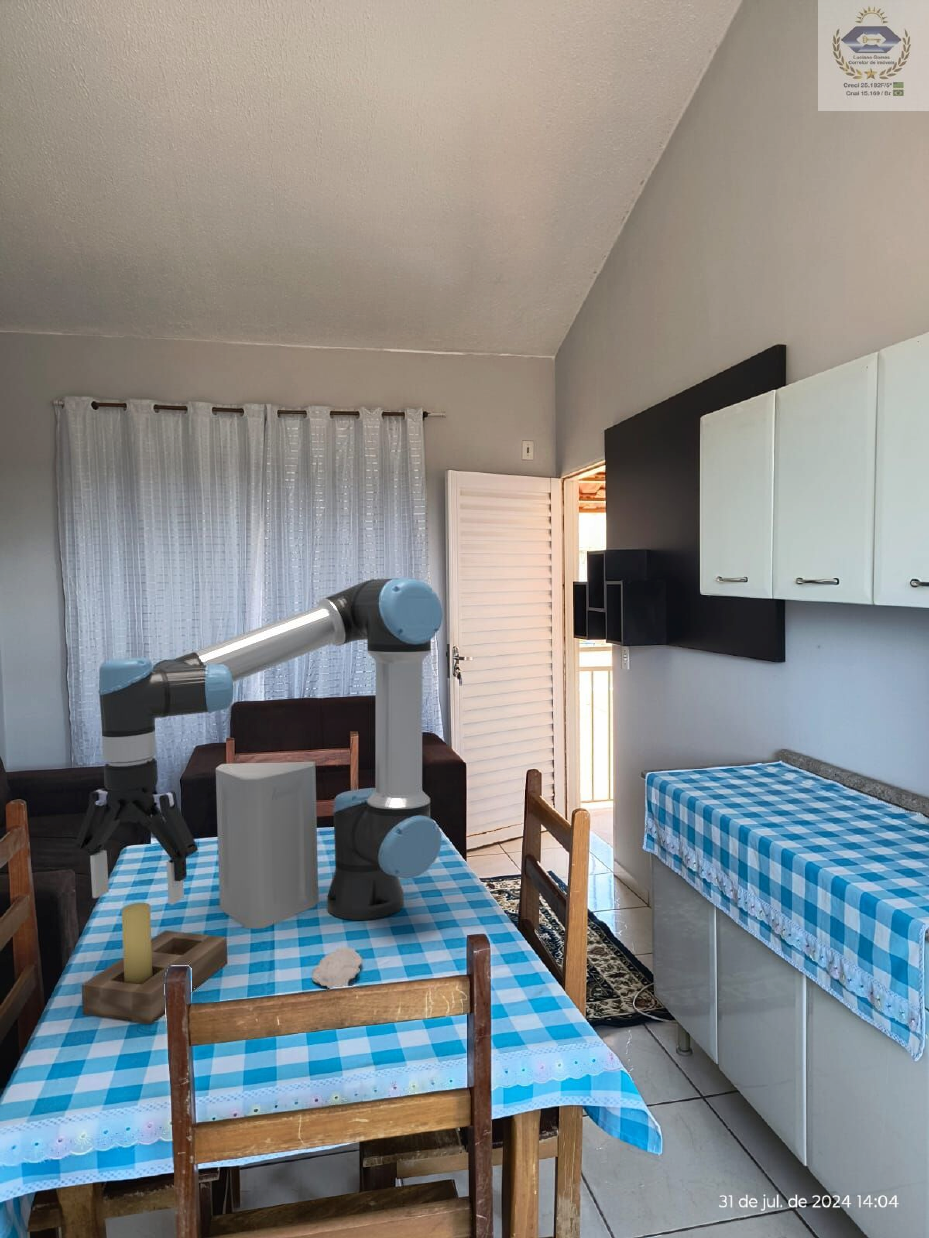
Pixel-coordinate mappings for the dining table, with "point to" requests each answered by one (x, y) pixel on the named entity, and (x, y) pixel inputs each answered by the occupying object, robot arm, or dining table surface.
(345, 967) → the stone tool
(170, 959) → the socket board
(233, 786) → the grey triangular prism
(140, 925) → the dowel
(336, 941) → the dining table surface
